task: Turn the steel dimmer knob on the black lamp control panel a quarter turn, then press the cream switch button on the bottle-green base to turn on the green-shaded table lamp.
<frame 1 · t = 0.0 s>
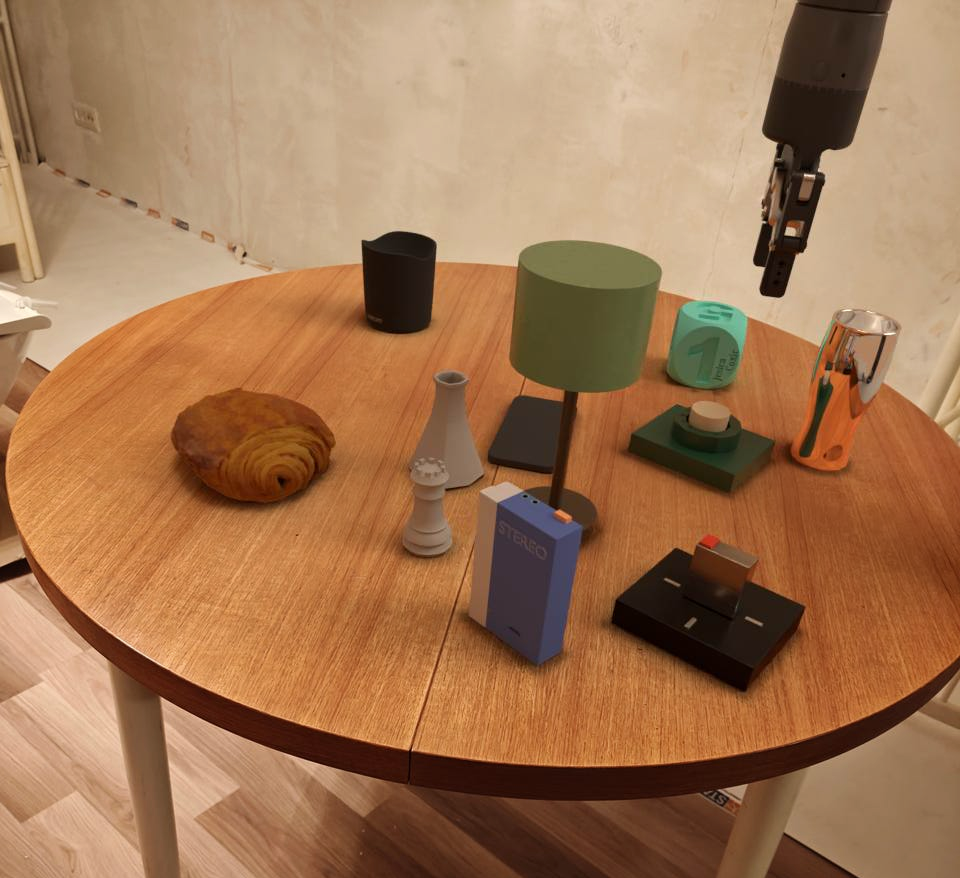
hand: (766, 280, 82), 19 cm above the table, tool pointing down, fingers open, 8 cm apart
decorative dice: (697, 377, 111), on the table
rook chess piece: (426, 546, 79), on the table
chrome tumbler: (817, 458, 96), on the table
croissant: (257, 468, 87), on the table
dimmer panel: (704, 626, 72), on the table
switch base: (699, 455, 95), on the table
pen holder: (398, 322, 117), on the table
phone: (533, 437, 95), on the table
dimmer knob: (719, 575, 69), point 5 cm above the table, hinge at 0.0°
walkman: (514, 636, 70), on the table
table lamp: (552, 522, 83), on the table
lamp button: (709, 417, 92), point 4 cm above the table, slide at 0.1 cm
flask: (446, 473, 88), on the table
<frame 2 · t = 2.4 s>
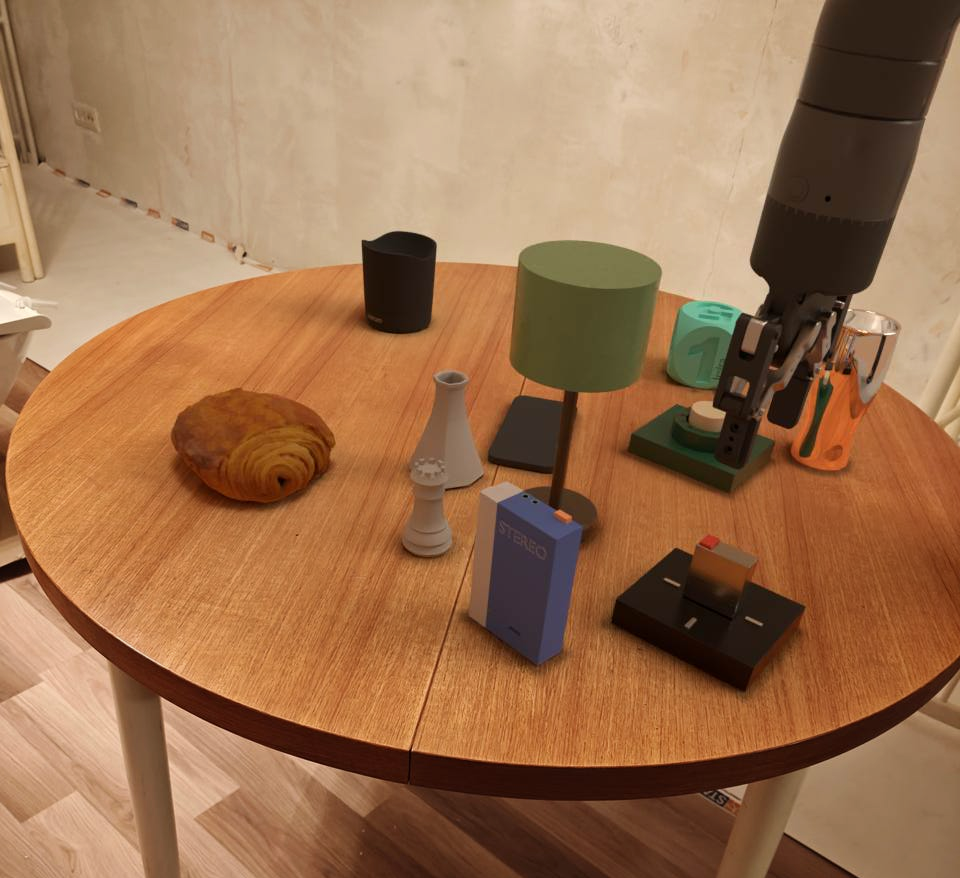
hand: (756, 443, 63), 16 cm above the table, tool pointing down, fingers open, 8 cm apart
nothing on the table moved.
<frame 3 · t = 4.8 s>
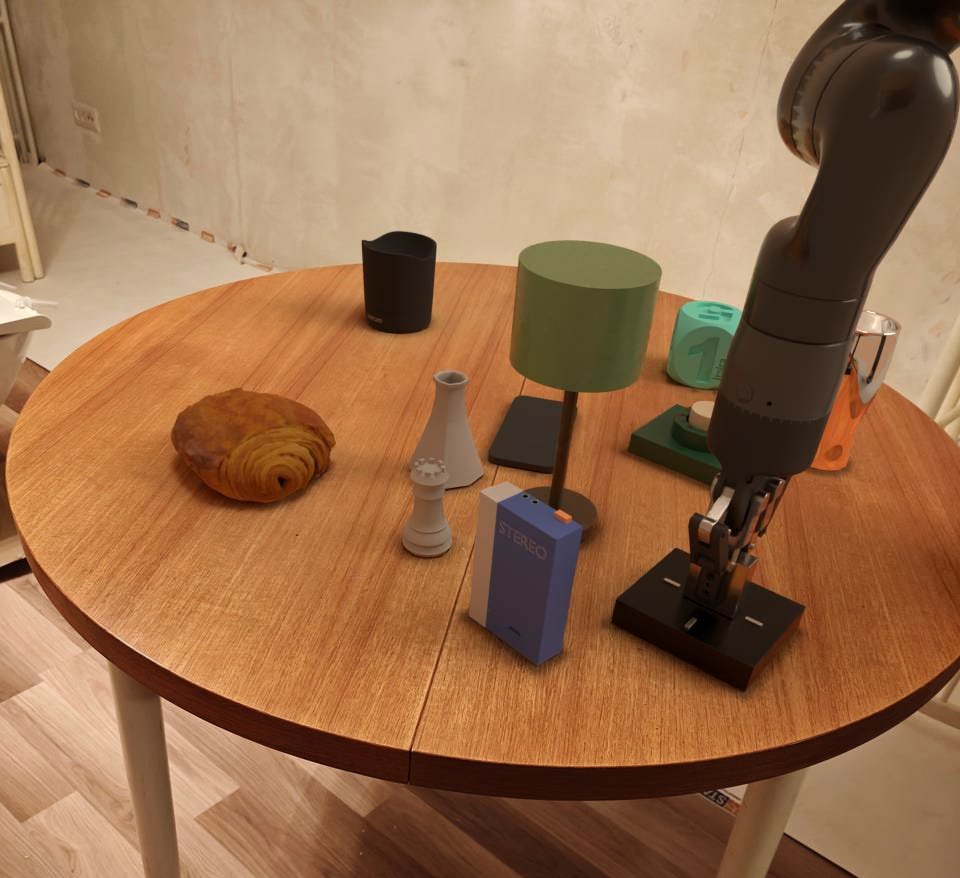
hand: (714, 594, 70), 3 cm above the table, tool pointing down, fingers closed on dimmer knob, 2 cm apart
dimmer knob: (719, 575, 69), point 5 cm above the table, hinge at 0.0°, touching gripper
everything else where it was.
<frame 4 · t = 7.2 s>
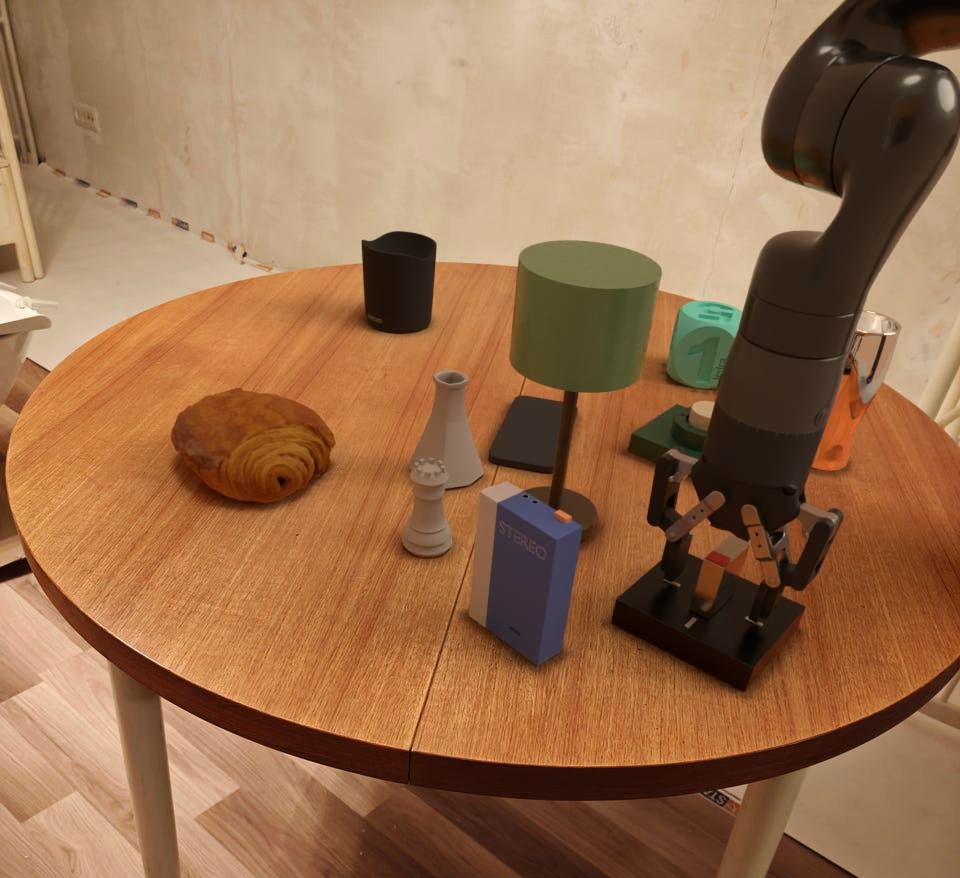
hand: (713, 595, 70), 3 cm above the table, tool pointing down, fingers open, 7 cm apart
dimmer knob: (719, 575, 69), point 5 cm above the table, hinge at 89.7°
everything else where it was.
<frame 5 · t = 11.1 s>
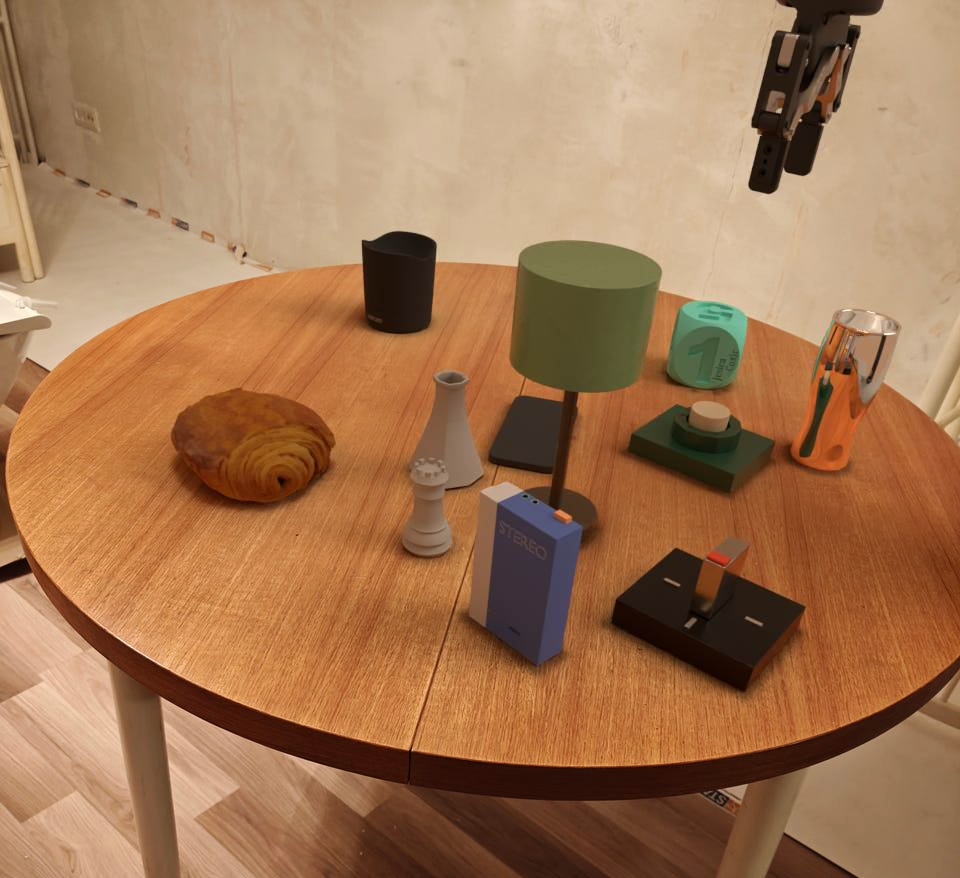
hand: (779, 182, 72), 28 cm above the table, tool pointing down, fingers open, 8 cm apart
nothing on the table moved.
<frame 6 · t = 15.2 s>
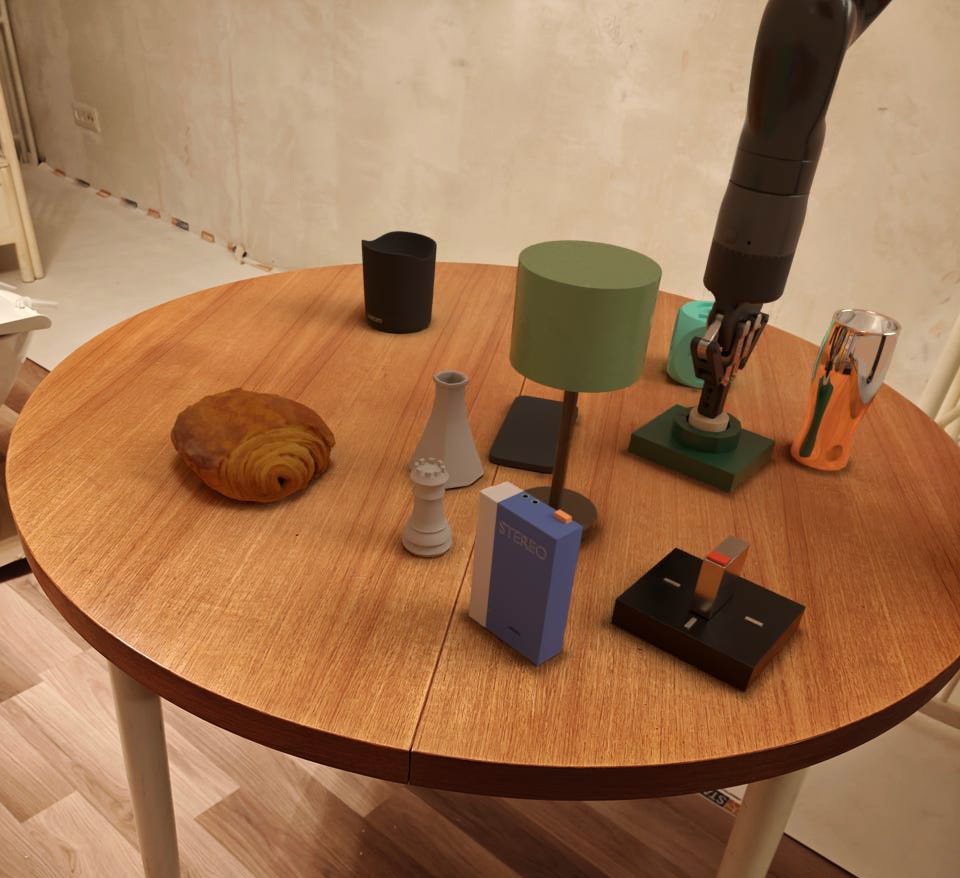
hand: (709, 413, 92), 5 cm above the table, tool pointing down, fingers closed
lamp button: (707, 422, 92), point 4 cm above the table, slide at -0.5 cm, touching gripper
everything else where it was.
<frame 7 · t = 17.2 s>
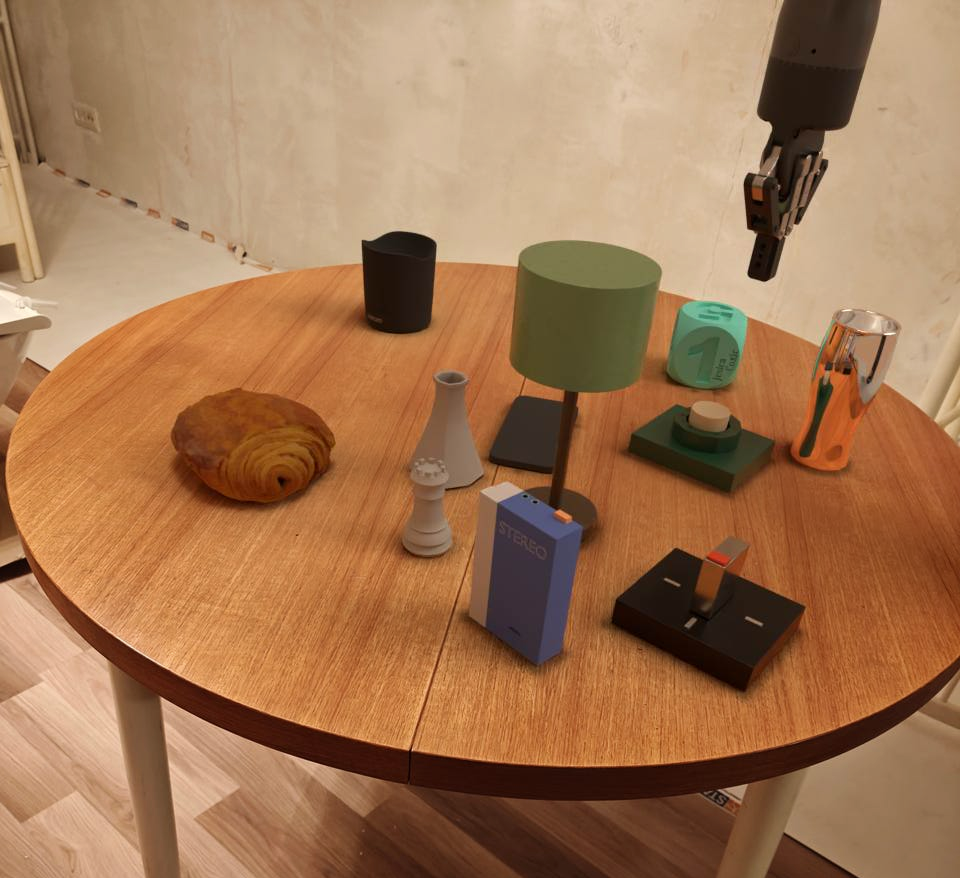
hand: (760, 277, 82), 19 cm above the table, tool pointing down, fingers closed
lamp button: (709, 417, 92), point 4 cm above the table, slide at 0.1 cm
everything else where it was.
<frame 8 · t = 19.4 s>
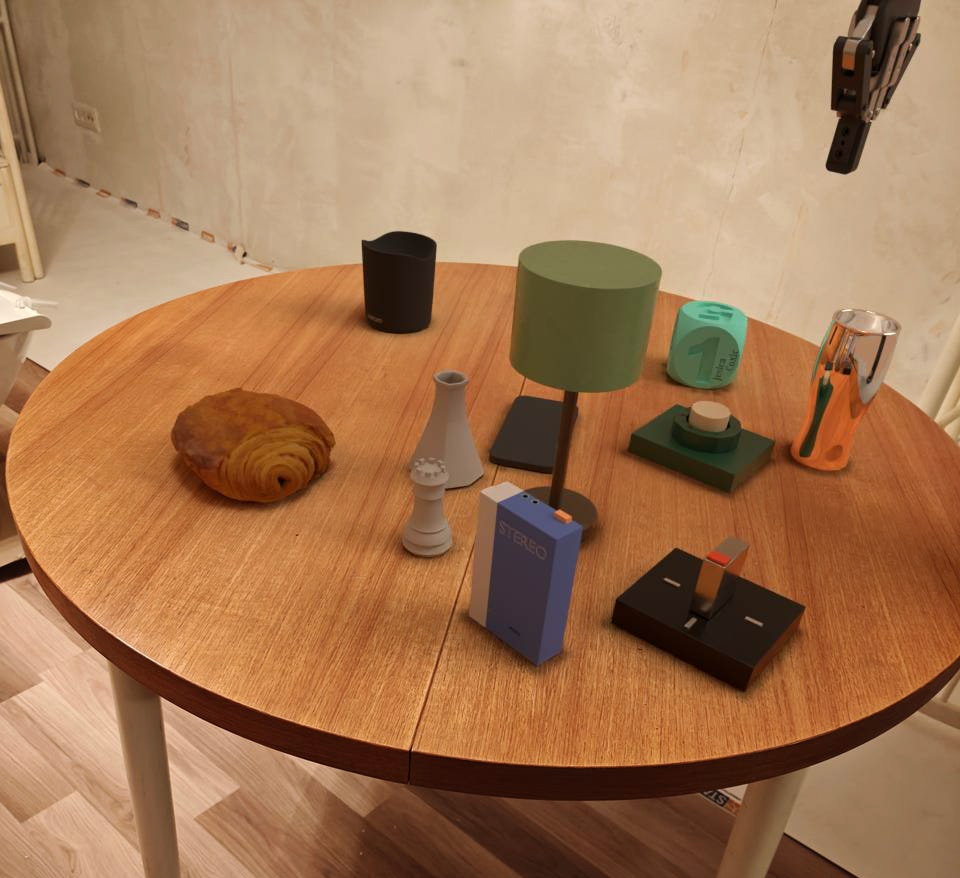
hand: (840, 171, 73), 29 cm above the table, tool pointing down, fingers closed
nothing on the table moved.
at the end: dimmer knob at +90° (first picture: +0°); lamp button pushed in 1.1 cm at the most during the clip, back to where it started at the end; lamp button slide at 0.1 cm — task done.
